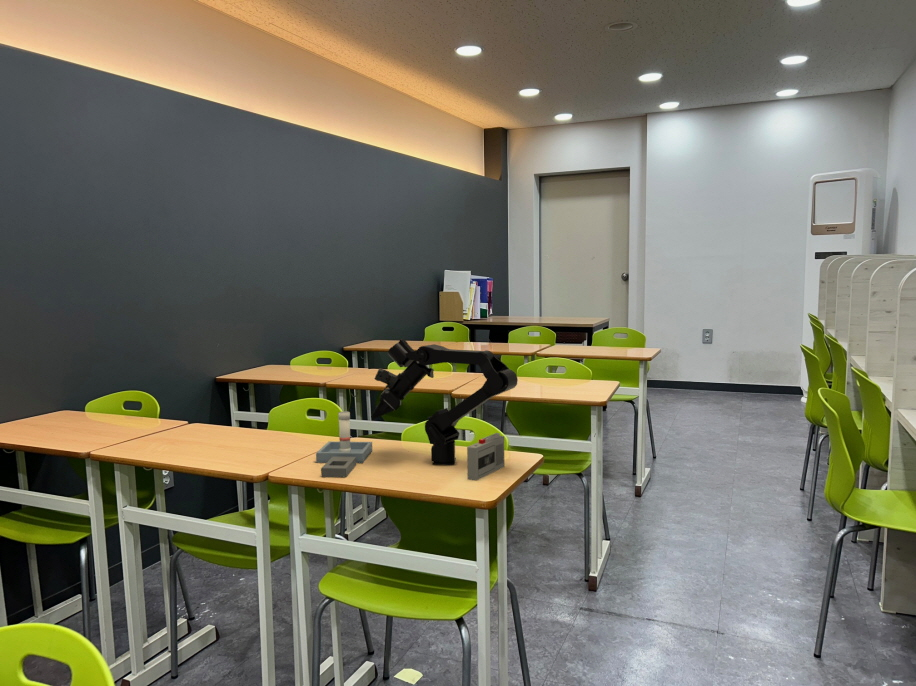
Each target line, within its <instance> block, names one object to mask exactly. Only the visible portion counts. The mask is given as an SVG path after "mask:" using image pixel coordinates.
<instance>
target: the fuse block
mask: <svg viewBox="0 0 916 686" xmlns="http://www.w3.org/2000/svg"><path fill="white" fill-rule="evenodd" d="M356 466H357V463H356V457H332V458H331V459H330V460H329V461H328V462H327V463H324V464H323V466H322V467H321V468H320V472H321V475H320V477H321V478H348V476H349V475H350V473H351V472H352V471H353V470H354V469H355V468H356Z"/></svg>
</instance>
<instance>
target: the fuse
mask: <svg viewBox="0 0 916 686" xmlns="http://www.w3.org/2000/svg"><path fill="white" fill-rule="evenodd" d="M350 419H351V412H350V411H345V410H344V411H339V412H338V429H339V430H338V432H339V435H338V437H339V439H338V440H339V442H340V448H339V449H340V452H351V447H350V442H351V423H350V422H351V420H350Z"/></svg>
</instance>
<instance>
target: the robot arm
mask: <svg viewBox="0 0 916 686" xmlns="http://www.w3.org/2000/svg"><path fill="white" fill-rule="evenodd" d="M387 355H388V356H389V357H390V358H391V359H392V360H393V362H395V363H396V365H397V366H398V367H399V368H403V367H404V368H405V369H404V370H402V372H399V373H398V374H394V373H392V372H391V371H389V370H386V369H383V368H381V367H380V368H378V369H377V372H376V374H375V377H374V380H375V381H377V382H381V383H383V384H386V385H385V387H384V388H383V391H382V393H380V395H379V402H378V404H377V405H376V407H375V409H374V411H373V412H372V414H371V416H370V418H371V419H373V420H375V419H377V418H380V417H382V416H384V415H386V414H389V413H392V412H395V411H397V410H398V409H399V408H400V407H401V405H402V401H403V400H404V399H405V397H406V396H407V395H408V394H409V393H410V392H411V391H413V390H414V389H415V387H416V386H417V385H418V384H419V383H420V382H421V381H422V380H423V379H424V378H425V377H426V376H427V377H428V378H431V379H434V377H435V375H434V374H435V373H434V370H435V369H434V368H432V367H428V366H430V365H438V364H461V365H462V364H463V365H476V366H478V367H479V368H480V370H481V372H482V374H483V376H484V378H485V379H486V380H485V382H484V383H483V384H482V386H481V387H480V388H479V389H478V390H476V391H475V392H473V393H472V394H471V395H469V396H468V397H466V398H464V400H462V401H460V402H459V403H458V404H456V405H455V406H453V407H452V408H450V410H449V408H448V407H445V408H442V409H439V410H436V411H435V412H434V413H433V415H431V416H428V417H427V420H426V421H425V423H424V431H425V433H426V435H427V438H428V442H429V444H430V445H431V448H430V450H431V453H430V455H431V456H430V457H431V459H430V461H431V462H432V463H431V464H432V465H440V466H442V465H444V466H445V465H446V466H453V465H455V464H456V461H457V457H456V441H457V440H458V439H459V436H460V432H459V431H458V429H457V428H456V426H457V423H459V421H460V420H461V419H463V418H465V416H466V417H467V415H469V414H470V413H472V412H473V411H474V410H476V409H478V408H479V407H480V406H482V405H483V404H485V403H486V402H487V401H489V400H490V399H492V398H493V397H496V396H498V395H501V394H503V393H506V392H508V391H510V390H512V389H514V388H516V387H517V385H518V381H519V380H518V375H517V374H516V373H515V371H514V370H512V369H510V368H509V367H508V365H507V364H506V363H504V362H503V361H502V360H500V359H499V358H497V357H496V356H495V354H494V353H493V352H492V351H490V350H488V349H486V350H473V349H471V350H470V349H469V350H468V349H450V348H447V347H445V346H443V345H439V344H434V343H433V344H428V345H421V346H419V347H418V348H417V350H414V349H413V348H412V346H410V345H409V343H408V341H407V340H406V339H404V338H403V339H400V340H399V341H398V342H397V343H395V344H393V345H392V346H391V347H390V348H389V349H388V352H387Z"/></svg>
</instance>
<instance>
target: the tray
mask: <svg viewBox="0 0 916 686" xmlns="http://www.w3.org/2000/svg"><path fill="white" fill-rule="evenodd" d="M350 447H351V452H340V449H339V448H340V441H333V440H332V441H328V442H327V443H325V444H324V445H323V446H322V447H321V448H319V450H317V451H316V453H315V459H316V460H315V461H316V462H315V463H316V464H326V463H327V462H328V461H329V460H330V459H331V458H332V457H356V464H363V463H365V462H366V460H367V459H368V457H369V456H370V455H371V453H373V441H350Z"/></svg>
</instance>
